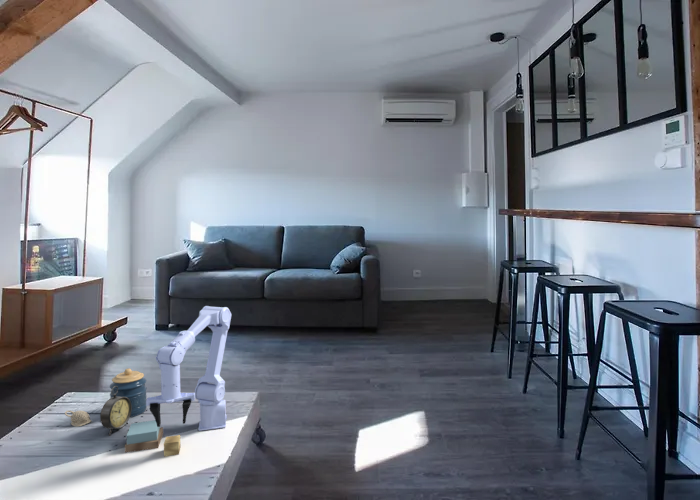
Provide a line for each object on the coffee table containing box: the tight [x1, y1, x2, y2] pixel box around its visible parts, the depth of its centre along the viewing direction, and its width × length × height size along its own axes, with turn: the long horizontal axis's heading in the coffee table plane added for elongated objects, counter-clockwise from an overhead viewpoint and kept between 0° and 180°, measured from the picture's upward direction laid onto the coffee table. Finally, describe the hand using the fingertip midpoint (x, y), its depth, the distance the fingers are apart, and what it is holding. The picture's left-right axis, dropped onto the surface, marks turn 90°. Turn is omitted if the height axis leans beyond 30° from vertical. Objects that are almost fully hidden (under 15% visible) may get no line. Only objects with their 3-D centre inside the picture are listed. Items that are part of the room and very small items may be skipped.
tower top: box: [126, 419, 161, 445], centre depth 139 cm, size 9×9×3 cm
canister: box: [109, 368, 148, 418], centre depth 163 cm, size 13×13×18 cm
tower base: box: [124, 426, 164, 454], centre depth 139 cm, size 10×10×3 cm
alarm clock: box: [99, 386, 132, 437], centre depth 148 cm, size 11×5×16 cm, turn 168°
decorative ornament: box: [64, 410, 93, 427], centre depth 153 cm, size 4×8×5 cm, turn 91°
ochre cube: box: [163, 434, 182, 457], centre depth 134 cm, size 4×4×4 cm
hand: (171, 423), depth 133 cm, fingers open, 7 cm apart
